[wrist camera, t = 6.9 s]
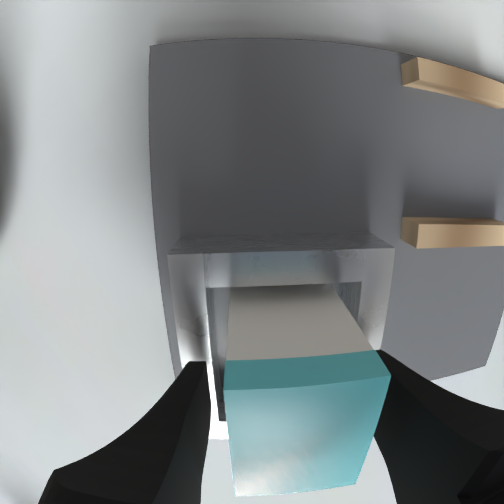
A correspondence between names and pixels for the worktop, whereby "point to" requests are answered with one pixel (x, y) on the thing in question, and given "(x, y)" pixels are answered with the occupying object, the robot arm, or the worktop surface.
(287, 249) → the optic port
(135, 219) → the worktop surface
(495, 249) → the panel board
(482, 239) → the wooden parallel rails
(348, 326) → the plug
